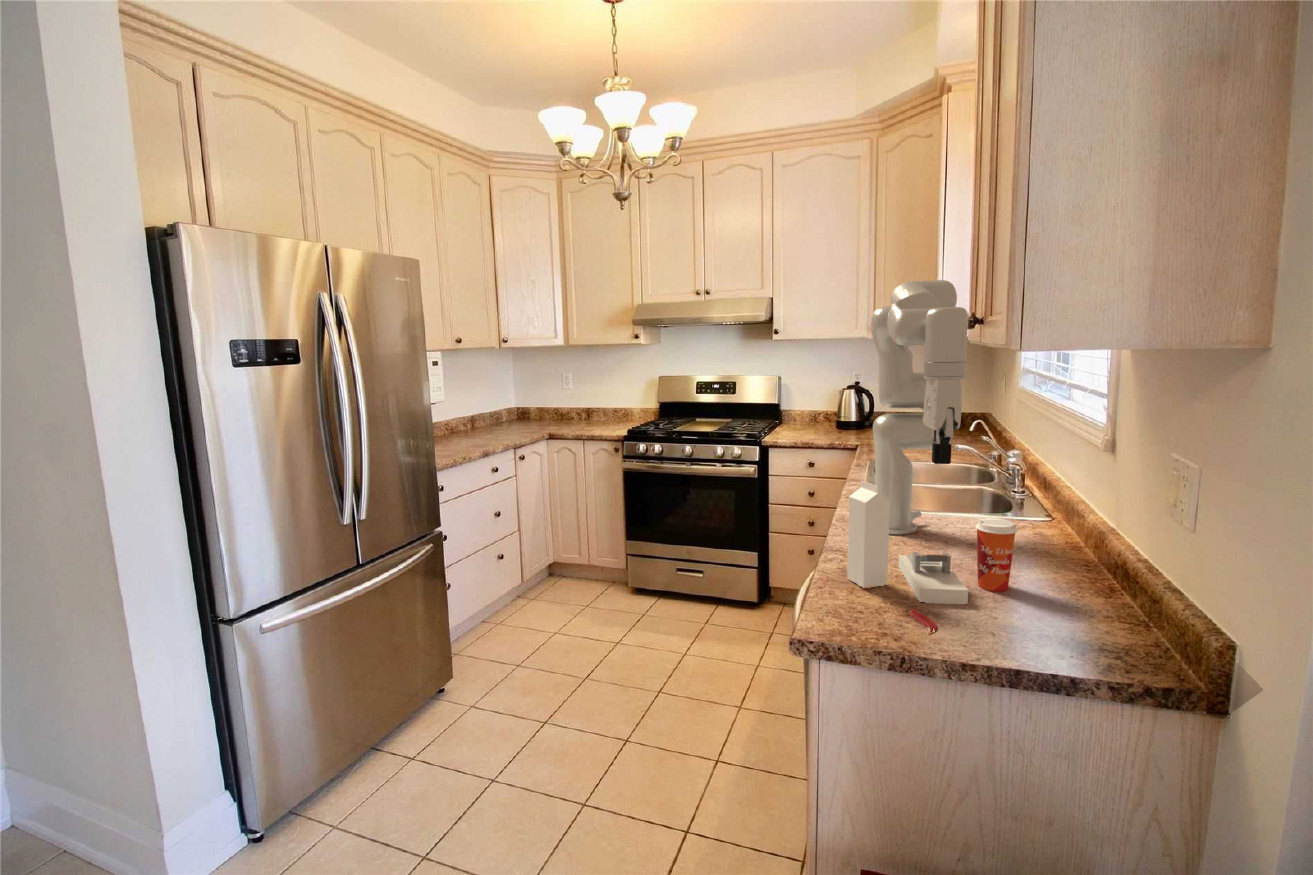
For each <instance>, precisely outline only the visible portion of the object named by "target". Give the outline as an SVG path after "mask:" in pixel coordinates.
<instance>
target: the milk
mask: <svg viewBox="0 0 1313 875" xmlns="http://www.w3.org/2000/svg"><path fill="white" fill-rule="evenodd" d="M889 509H890V500H889V499H887V498H886V497H884V496H882V495H880V494H879V493H878V486H876V485H875V484H872V483H870V482H868V481H864V480H861V481H860V487H859V488H858V489H857V490H855V491H854V492H853V493H851V494H850V495H849V496H848V530H847V532H848V534H847V538H848V539H847V573H846V574H847V578H848V579H850V580H851V581H853V582H855V583H857V584H858V585H859V586H862V587H868V586H880V585H886V584H887V585H888V576H889V575H888V574H889V573H888V571H889V565H888V564H889V542H890V541H889V537H890V534H889ZM847 578H846V579H847ZM859 586H858V587H859Z"/></svg>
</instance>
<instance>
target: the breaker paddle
mask: <svg viewBox="0 0 1313 875" xmlns="http://www.w3.org/2000/svg"><path fill="white" fill-rule="evenodd" d="M920 556H921V558H920V562H948V560H947V555H942V554H925V555H920Z"/></svg>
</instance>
